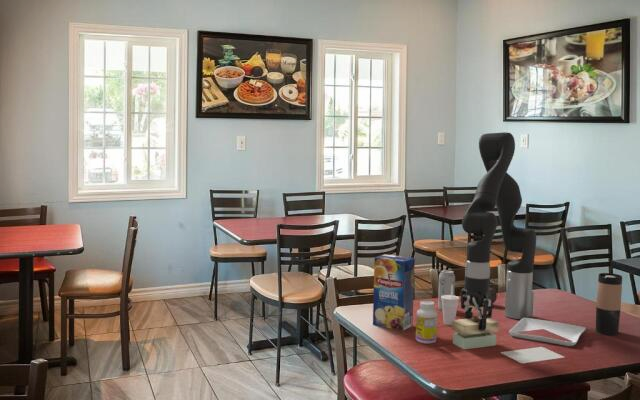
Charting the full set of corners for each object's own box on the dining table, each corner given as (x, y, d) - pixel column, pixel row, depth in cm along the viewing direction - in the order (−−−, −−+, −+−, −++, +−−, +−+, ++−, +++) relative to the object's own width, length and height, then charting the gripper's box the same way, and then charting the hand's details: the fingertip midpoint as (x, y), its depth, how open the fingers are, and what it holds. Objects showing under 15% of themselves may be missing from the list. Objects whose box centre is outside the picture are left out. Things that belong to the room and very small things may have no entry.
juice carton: (412, 325, 225) (415, 258, 223) (403, 330, 219) (405, 261, 217) (382, 319, 232) (384, 254, 229) (372, 324, 226) (374, 257, 223)
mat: (541, 350, 201) (542, 346, 201) (564, 361, 192) (565, 357, 192) (499, 356, 195) (500, 352, 195) (521, 367, 186) (521, 363, 186)
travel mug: (617, 330, 224) (621, 274, 222) (620, 336, 217) (624, 278, 215) (593, 327, 227) (597, 272, 225) (595, 333, 219) (599, 276, 217)
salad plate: (522, 325, 229) (523, 316, 229) (586, 335, 218) (586, 326, 218) (507, 341, 211) (507, 331, 211) (575, 353, 200) (576, 342, 200)
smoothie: (458, 326, 225) (459, 287, 223) (439, 325, 226) (441, 286, 224) (458, 321, 231) (459, 283, 229) (440, 320, 232) (441, 282, 231)
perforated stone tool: (457, 300, 260) (457, 284, 260) (463, 298, 264) (464, 281, 264) (491, 307, 251) (492, 290, 250) (497, 305, 255) (498, 288, 254)
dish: (484, 342, 208) (484, 329, 207) (495, 348, 202) (496, 334, 202) (452, 346, 203) (453, 333, 203) (463, 353, 198) (464, 338, 197)
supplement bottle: (413, 337, 212) (414, 299, 210) (433, 337, 212) (434, 299, 211) (418, 344, 205) (419, 305, 204) (438, 344, 206) (440, 305, 204)
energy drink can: (455, 312, 243) (456, 273, 242) (439, 311, 243) (440, 273, 242) (452, 307, 249) (453, 270, 248) (436, 307, 249) (438, 269, 248)
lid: (485, 325, 207) (486, 313, 207) (498, 331, 201) (498, 318, 201) (451, 329, 203) (452, 317, 202) (463, 335, 197) (463, 322, 196)
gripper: (501, 279, 195) (499, 332, 197) (473, 269, 208) (471, 319, 210) (481, 280, 192) (478, 335, 194) (454, 271, 205) (452, 321, 207)
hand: (475, 326), depth 202 cm, fingers closed on lid, 6 cm apart
